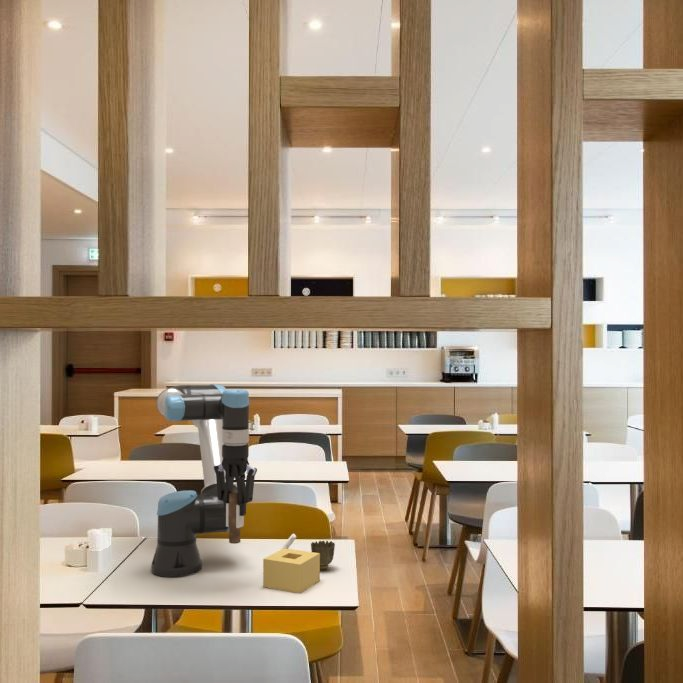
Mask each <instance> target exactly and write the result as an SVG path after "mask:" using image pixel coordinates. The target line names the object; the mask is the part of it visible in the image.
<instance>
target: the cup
mask: <svg viewBox="0 0 683 683" xmlns="http://www.w3.org/2000/svg"><path fill="white" fill-rule="evenodd" d="M335 546H336V544H335V542H333V541H329V540H319V541H315V542H314V541H312V542H311V543H310V549H311V551H310V552H314V553H320V571H327V570H328V569H329V565H330V564H332V562H333V559H334V557H335V556H334V555H335Z"/></svg>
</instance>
